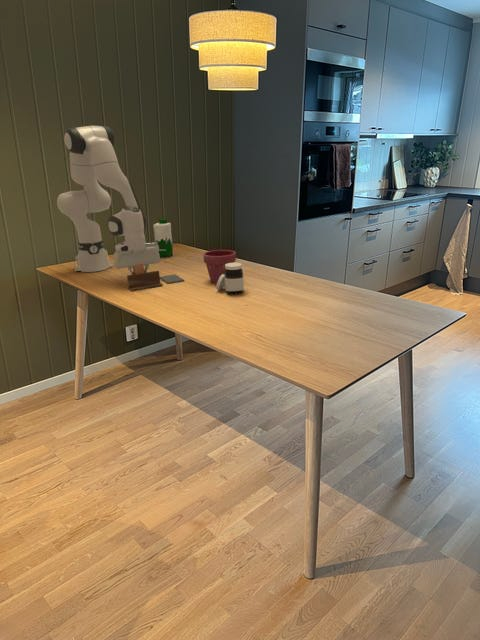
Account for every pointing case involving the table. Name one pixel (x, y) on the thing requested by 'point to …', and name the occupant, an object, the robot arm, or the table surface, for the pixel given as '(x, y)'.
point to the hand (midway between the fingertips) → (139, 275)
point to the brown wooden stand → (144, 281)
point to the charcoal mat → (171, 279)
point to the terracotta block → (138, 269)
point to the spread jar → (232, 279)
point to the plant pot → (218, 262)
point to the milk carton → (163, 238)
